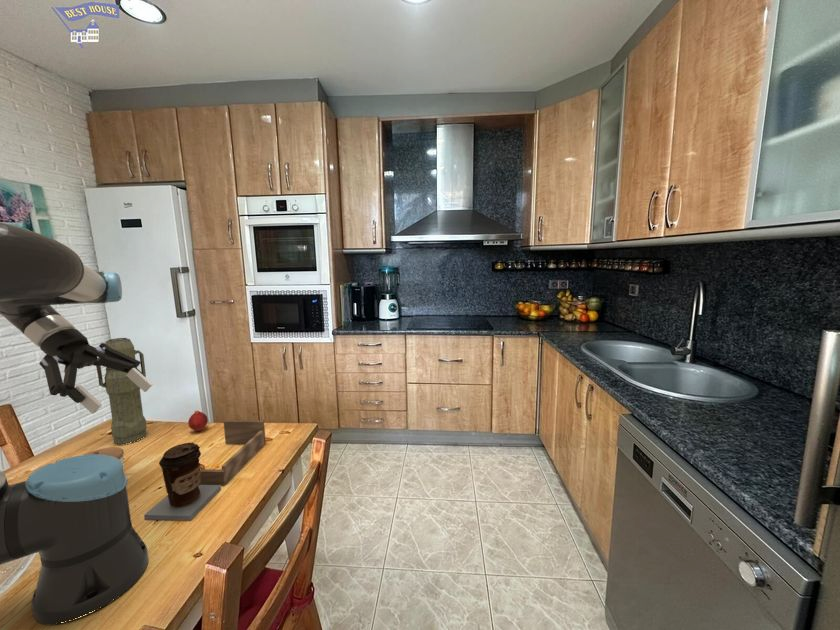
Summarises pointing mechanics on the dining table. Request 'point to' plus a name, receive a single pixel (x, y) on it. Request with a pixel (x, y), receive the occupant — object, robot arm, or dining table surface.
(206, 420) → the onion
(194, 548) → the dining table surface
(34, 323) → the robot arm
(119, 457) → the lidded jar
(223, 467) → the u-shaped wooden frame
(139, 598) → the dining table surface
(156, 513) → the slate pad
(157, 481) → the dining table surface
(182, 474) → the coffee cup
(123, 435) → the thermos
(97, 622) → the dining table surface
